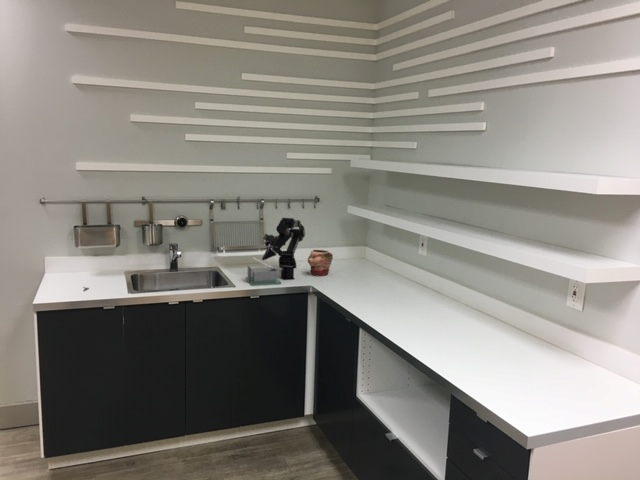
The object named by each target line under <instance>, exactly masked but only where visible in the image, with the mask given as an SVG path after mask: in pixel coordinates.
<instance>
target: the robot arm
mask: <svg viewBox="0 0 640 480" xmlns="http://www.w3.org/2000/svg"><path fill="white" fill-rule="evenodd" d="M301 222H302V221H301V220H298V219H295V218H294V217H281V219H280V221H279V222H278V225H277V226H276V232H277V234H278V235H275V236H274V235H273V234H267V233H264V236H263V238H262V239H263V240H264V242H263V244H264V245H265V252H264V253H263V256H262V258H261V261H262V260H263V261H266V260H268V259H270V258H273V257H275V256H279V258H278V266H279V268H280V269H281V270H280V278H281V279H282V280H295V277H294V276H295V275H294V274H295V271H294V270H295V269H297V261H296V258H295V253H296V250H297V248H298V245H299V243H300V242H302V241H303V240H304V238H306V237H305V236H306V231H305V226H304V225H302V223H301ZM289 240H290V241H289ZM288 241H289V243H288V246H287V248H286V250H282V247H284V246H286V245H287V242H288Z"/></svg>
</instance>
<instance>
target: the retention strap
mask: <svg viewBox="0 0 640 480" xmlns="http://www.w3.org/2000/svg"><path fill="white" fill-rule="evenodd" d="M252 259H253V260H255V261H257V262H258V263H260V264H263V265H265V266H267V267H270V268H272V269H276V268H275V266H271V265H270V264H268V263H266V262H264V261H262V260H261V259H258V258H256V257H254V256H252Z"/></svg>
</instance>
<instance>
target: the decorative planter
mask: <svg viewBox="0 0 640 480" xmlns="http://www.w3.org/2000/svg"><path fill="white" fill-rule="evenodd" d="M333 256H334V255H333V253H332V252H330V251H328V250H323V249H313V250H311V252H310V254H309V256H308V257H307V263H308V265H309V266H310V274H311V275H313V276H316V277H324V276H328V274H329V272H330V267H331V264H332V261H333V259H334V257H333Z"/></svg>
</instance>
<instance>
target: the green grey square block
mask: <svg viewBox="0 0 640 480" xmlns="http://www.w3.org/2000/svg"><path fill="white" fill-rule="evenodd" d="M245 280H246V281H247V283H248V284H249V285H250V286H251V287H253V286H254V287H257V286H270V285H271V286H272V285H273V286H274V285H281V284H282V281H280V280H279V278H277V268H275V269H272V268H270V267H268V266H267V267H252V268H251V266H249V265H247V276H245Z"/></svg>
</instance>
